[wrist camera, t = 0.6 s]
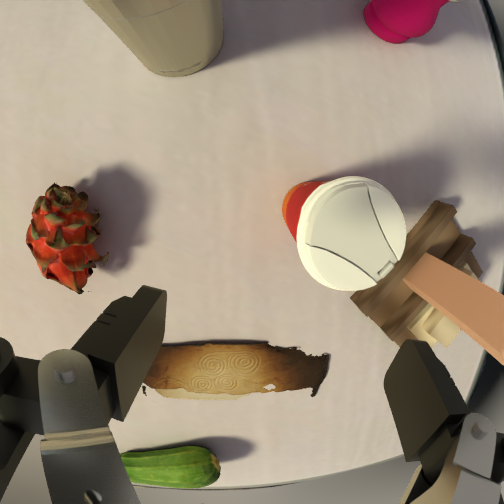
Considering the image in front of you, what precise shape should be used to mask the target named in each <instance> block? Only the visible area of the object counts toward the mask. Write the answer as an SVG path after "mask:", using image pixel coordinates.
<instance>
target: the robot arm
mask: <svg viewBox="0 0 504 504" xmlns="http://www.w3.org/2000/svg"><path fill="white" fill-rule="evenodd" d="M83 1H84V2H85V3H86V4H87V5H88V6H89V7H90V8H91V9H92V10H93V11H94V12H95V13H96V14H97V15H98V16H99V17H100V18H101V19H102V20H103V21H104V22H105V23H106V25H107V26H108V27H109V28H110V29H111V30H112V31H113V32H114V33H115V34H116V35H117V36H118V37H119V38H120V39H121V40H122V42H123V43H124V44H125V45H126V46H127V47H128V48H129V49H130V50H131V51H132V52H133V54H134V55H135V56H136V57H137V58H138V59H139V60H140V61H141V62H142V63H143V65H144V66H146V67H147V68H148V69H149V70H150V71H152V72H154V73H156V74H158V75H162V76H167V77H179V76H185V75H189V74H192V73H195V72H197V71H199V70H201V69H202V68H204V67H205V66H207V65H208V64H209V63H210V62H211V61H212V60H213V59H214V58H215V57H216V55H217V54H218V52H219V51H220V49H221V46H222V43H223V36H224V35H223V17H222V0H83ZM166 303H167V293H166V291H165V290H161V289H157V288H153V287H150V286H146V285H143V286H142V287H141V288H140V289H139V290H138V291H137V292H136V294H135V295H134V296H133V297H132V298H131V297H127V296H123V297H121V298H119V299H117V300H115V301H113V302H111V304H110V305H109V306H108V307H107V308H106V309H105V310H104V311H103V314H101V315H100V316H99V317H98V318H97V320H96V321H95V322H94V323H93V324H92V325H91V326H90V327H89V328H88V330H87V331H86V332H85V333H84V334H83V335H82V337H81V338H80V339H79V340H78V341H77V342H76V344H75V345H74V346H73V347H72V348H71V350H69V349H62V350H56V351H53V352H51V353H49V354H47V355H46V356H45V357H44V358H43V359H42V360H34V359H28V358H23V357H18V356H15V354H14V351H13V348H12V346H11V344H10V343H9V342H8V341H7V340H5V339H4V338H1V337H0V501H1V499H2V497H3V494H4V492H5V490H6V488H7V486H8V484H9V482H10V480H11V478H12V476H13V474H14V472H15V470H16V468H17V466H18V464H19V462H20V460H21V458H22V457H23V455H24V453H25V451H26V449H27V447H28V446H29V444H30V442H31V440H32V438H33V436H34V435H35V434H40V435H44V440H41V442H40V451H41V457H42V462H43V467H44V472H45V477H46V481H47V485H48V489H49V493H50V496H51V501H52V504H141V503H140V501H139V499H138V497H137V495H136V492H135V490H134V488H133V486H132V483H131V481H130V479H129V476H128V474H127V471H126V469H125V466H124V464H123V461H122V459H121V456H120V454H119V451H118V448H117V445H116V443H115V440H114V437H113V435H112V432H111V431H110V429H109V426H108V423H109V422H110V420H111V418H114V419H116V420H119V421H122V422H123V421H124V419H125V417H126V415H127V413H128V411H129V409H130V407H131V405H132V403H133V401H134V399H135V397H136V395H137V393H138V391H139V389H140V387H141V385H142V383H143V381H144V379H145V377H146V375H147V373H148V371H149V369H150V367H151V365H152V363H153V361H154V359H155V357H156V355H157V353H158V352H159V350H160V348H161V345H162V342H163V338H164V332H165V318H166ZM384 390H385V393H386V396H387V399H388V402H389V405H390V408H391V411H392V415H393V418H394V421H395V424H396V428H397V431H398V434H399V438H400V441H401V445H402V448H403V452H404V455H405V459H406V462H411V461H421V465H420V466H419V467H418V468H417V469H416V471H415V472H414V475H413V477H412V479H411V481H410V483H409V485H408V487H407V489H406V491H405V493H404V495H403V497H402V499H401V501H400V502H399V504H504V501H503V498H502V495H501V484H500V483H501V482H502V481H504V434H502V433H497V432H496V430H495V428H494V426H493V424H492V423H491V422H490V421H489V420H488V419H487V418H486V417H484V416H483V415H480V414H477V413H470V411H469V409H468V407H467V405H466V403H465V401H464V400H463V398H462V396H461V394H460V392H459V390H458V388H457V386H455V383H454V381H453V379H452V378H450V374H449V372H448V370H447V369H446V367H445V365H444V364H443V363H442V362H441V361H440V360H439V359H438V358H437V357H436V355H435V354H434V352H433V350H432V349H431V347H430V345H429V344H428V342H426V341H421V340H413V339H406V340H405V341H404V342H403V343H402V345H401V347H400V349H399V351H398V353H397V354H396V356H395V358H394V360H393V362H392V363H391V365H390V367H389V369H388V370H387V372H386V375H385V378H384Z"/></svg>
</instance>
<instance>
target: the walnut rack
mask: <svg viewBox="0 0 504 504" xmlns="http://www.w3.org/2000/svg"><path fill="white" fill-rule="evenodd" d="M456 213H457V211H456V209H455V208H454V206H453V205H449V204H445V203H441V202H440V201H437V200H435V201H434V202H433V204H432V205H431V206H430V208H429V209H428V210H427V211H426V213H425V214H424V215H423V216H422V218H421V219H420V220H419V221H418V222H417V224H416V225H415V226H414V227H413V228H412V230H411V231H410V232H409V233H408V234H407V236H406V242H405V248H404V251H403V254H402V256H401V259H400V260H399V261H398V260H397V262H396V263H395V264H394V268H393V269H392V270H391V271H390V272H389V273H388V274H387V275H386V276H385V277H384V278H381V279H380V280H379V281H378V282H376V283H377V284H376V285H374V286H372V287H370V288H367V289H364V290H358V291H356V292H355V293H354V294H353V295H352V296H351V297H350V299H351V300H352V301H353V302H354V303H355V304H356V305H357V307H358V308H359V309H360V310H361V311H362V312H363V313H364V314H365V315H366V316H367V317H368V316H369V317H370V318H371V319H372V320H373V321H374V322H375V323H376V324H377V325H378V326H379V327H380V328H381V329H382V330H383V331H384V333H385V334H386V335H387V336H388V337H389V338H390V339H391V340H392V341H395V342H396V343H397V344H398V345H399V346H400V347H401V345H402V343H403V342H404V341H405V340H406V339H413V340H419V339H418V338H417V337H416V336H415V335H414V334H413V333H412V332H411V330H410V329H409V328H408V327H407V326H408V325H409V324H410V323H411V322H412V321H413V320H414V319H415V318H416V317H417V316H418V314H419V313H420V312H421V311H422V310H423V309H424V308H425V307H426V306H427V304H428V302H427V301H426V300H424V299H423V298H422V297H420V296H419V295H418V294H417V293H415V292H414V291H413V290H411V289H410V288H409V287H408V285H407V284H406V283H405V282H404V281H403V278H404V277H405V276H406V275H407V273H408V272H409V271H410V270H411V269H412V268H413V267H414V265H415V264H416V263H417V262H418V261H419V259H420V258H421V257H422V256H423V255H424V253H425V252H426V253H428V254H430V255H432V256H434V257H436V258H438V259H440V260H441V261H443V262H445V263H447V264H449V265H451V266H453V267H454V268H456V269H457V268H458V267H459V266H460V264H461V263H462V262H463V261H464V262H466V263H467V264H468V265H469V267H470V269H471V271H472V272H473V273H474V274H475V275H476V277H477V278H479V277H480V275H481V274H482V270H481V268H480V267H479V265H478V263H477V261H476V259H475V257H474V256H473V254H472V252H471V250H472V248H473V247H474V246H475V244H476V243H475V241H474V239H473V238H471V237H468V236H465V235H463V234H461V233H460V232H459V230H458V228H457V227H456V225H455V223H454V222H453V220H452V218H453V217H454V215H455V214H456Z"/></svg>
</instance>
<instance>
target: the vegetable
mask: <svg viewBox="0 0 504 504" xmlns="http://www.w3.org/2000/svg"><path fill="white" fill-rule="evenodd" d="M120 456H121V459H122V461H123V464H124V466H125V469H126V471H127V474H128V476H129V479H130V481H131V482H134V483H141V484H149V485H158V486H166V487H174V488H200V487H204V486H208V485H210V484H212V483H214V482H215V481H217V479H218V478H219V476H220V469H221V467H220V465H219V460H218V459H217V457H216V455H215V454H213V453H212V452H211V450H209V449H207V448H204V447H197V446H184V447H178V448H173V449H166V450H157V451H148V452H139V453H136V452H126V453H123V454H122V455H120Z"/></svg>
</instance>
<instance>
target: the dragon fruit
mask: <svg viewBox="0 0 504 504" xmlns="http://www.w3.org/2000/svg"><path fill="white" fill-rule="evenodd" d="M87 205H88V195H87V194H86V193H85V192H84V191H83V192H80V193H79V194H77V192H76V191H75V189H74V188H73V187H71V186H63V187H60V186H59V185H57V183H56V184H55V183H54V184H53V185H52V186H51V187H49V188H48V189H47V190H46V193H45V196H40V197H39V198H38V199H37V200H36V202H35V205H34V207H33V211H32V217H33V219H32V220H31V224H30V226H29V228H28V231H27V235H26V243H27V245H28V247H29V248H30V250H31V252H32V254H33V256H34V257H35V259H36V261H37V264H38V266H39V268H40V270H41V273H42V275H43V276H44V277H45V278H47V279H51V280H54V281H57V282H59V283H60V284H62V285H64V286H66V287H67V288H69V289H71V290H73V291H75V292H77V293H78V294H82V293H83V292H84V291H83V290H82V288H83V287H84V286H85V285H86V283H87V278H88V277H89V276H91V275H92V273H93V270H92V268H96V265H95V264H94V263H92V261H94V262H100V261H102V262H101V264H102V266H104V264H105V263H106V261H107V260H108V258H109V252H107V254H106V255H104V257H102V256H100V255H99V254H98V253H97V252H96V251H95V249H94V248H93V245H92V243H93V242H94V241H95V240H96V239H97V238H98V237H99V236H100V235H101V230H100V229H99V228H98V225H97V224H96V223H97V222H98V221H99V220H100V216H101V212H100V210H99V209H95V210H94V211H96V212H98V213H97V214H91V213H86V212H85V208H86V207H87ZM91 227H93V228H94V231H92V229H91ZM90 260H91V261H90ZM90 292H91V291H90Z"/></svg>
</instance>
